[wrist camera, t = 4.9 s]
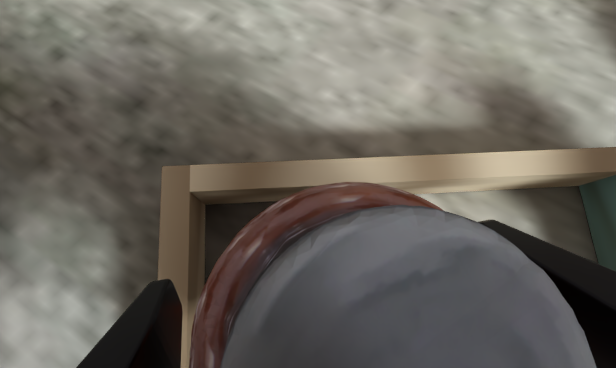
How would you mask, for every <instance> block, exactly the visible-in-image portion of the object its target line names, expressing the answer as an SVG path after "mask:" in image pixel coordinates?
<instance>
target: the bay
mask: <svg viewBox="0 0 616 368" xmlns="http://www.w3.org/2000/svg"><path fill="white" fill-rule="evenodd" d="M341 182H367V183H373V184H380V185H385V186H390V187H394V188H397V189H400V190H403V191H406V192H409V193H411V194H427V193H447V192H467V191H487V190H506V189H526V188H546V187H566V186H579V188H580V192H581V196H582V200H583V204H584V208H585V212H586V216H587V220H588V224H589V227H590V231H591V235H592V239H593V243H594V247H595V251H596V255H597V259H598V263H599V264H600V265H602V266H604V267H607V268H609V269H612V270H614V271H616V147H606V148H582V149H559V150H535V151H511V152H488V153H464V154H441V155H417V156H393V157H370V158H346V159H323V160H299V161H275V162H252V163H228V164H204V165H181V166H162V181H161V207H160V234H159V260H158V280H162V279H170V280H171V281H172V282H173V284H174V286H175V289H176V291H177V294H178V296H179V299H180V301H181V304H182V311H183V316H182V344H181V368H189V361H190V347H191V333H192V326H193V321H194V316H195V312H196V308H197V303H198V301H199V299H200V296H201V293H202V290H203V288H204V286H205V205H210V204H229V203H249V202H269V201H279V200H280V199H283V198H286V197H288V196H290V195H292V194H294V193H297V192H300V191H302V190H305V189H308V188H311V187H315V186H319V185H326V184H333V183H341Z"/></svg>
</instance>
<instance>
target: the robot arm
mask: <svg viewBox="0 0 616 368" xmlns="http://www.w3.org/2000/svg"><path fill="white" fill-rule="evenodd" d="M478 223H480V224H482V225H484V226H486V227H488V228H490V229H492V230H494V231H495V232H497V233H498V234H500V235H501V236H503V237H504V238H506V239H507V240H508V241H510V242H511V243H512V244H514V245H515V246H516V247H517V248H519V249H520V250H521V251H522V252H523V253H524V254H525V255H526V256H527V257H528V258H529V259H530V260H531V261H533V262H534V263H535V264H536V265H538V266H539V267H540V268H541V269H543V270H544V271H545V273H546V274H547V275H548V276H549V277H550V279H551V280H552V281H553V282H554V284H555V285H556V287H557V288H558V290H559V291H560V293H561V295H562V296H563V297H564V299H565V300H566V301H567V303H568V304H569V305H570V307H571V308H572V309H573V312H574V314H575V316H576V318H577V321H578V323H579V324H580V326H581V327H582V329H583V330H584V333H585V336H586V339H587V341H588V344H589V347H590V350H591V353H592V356H593V359H594V361H595V364H596V367H597V368H616V271H614V270H612V269H609V268H607V267H604V266H602V265H600V264H597V263H595V262H593V261H590V260H588V259H585V258H583V257H581V256H578V255H576V254H574V253H571V252H569V251H567V250H564V249H562V248H559V247H557V246H555V245H552V244H550V243H548V242H545V241H543V240H541V239H538V238H536V237H533V236H531V235H529V234H526V233H524V232H522V231H519V230H517V229H515V228H512V227H510V226H507V225H505V224H503V223H500V222H498V221H496V220H486V221H480V222H478ZM182 316H183V311H182V304H181V301H180V299H179V296H178V294H177V291H176V289H175V286H174V284H173V282H172V281H171V280H170V279H162V280H157V281H153V282H151V283H149V284H148V285H147V287H146V288H145V289H144V290H143V291H142V292H141V293H140V295H139V296H138V297H137V298H136V299H135V300H134V302H133V303H132V304H131V305H130V306H129V307H128V308H127V310H126V311H125V312H124V313H123V314H122V315H121V317H120V318H119V319H118V320H117V321H116V322H115V324H114V325H113V326H112V327H111V328H110V329H109V330H108V332H107V333H106V334H105V335H104V336H103V337H102V339H101V340H100V341H99V342H98V343H97V344H96V345H95V347H94V348H93V349H92V350H91V351H90V352H89V354H88V355H87V356H86V357H85V358H84V359H83V361H82V362H81V363H80V364H79V365H78V366H77V367H76V368H181V344H182Z"/></svg>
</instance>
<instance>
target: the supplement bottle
mask: <svg viewBox="0 0 616 368" xmlns="http://www.w3.org/2000/svg"><path fill="white" fill-rule="evenodd" d="M189 368H597V367H596V364H595V361H594V359H593V356H592V353H591V350H590V347H589V344H588V341H587V339H586V336H585V333H584V330H583V329H582V327H581V326H580V324H579V323H578V321H577V318H576V316H575V314H574V312H573V309H572V308H571V307H570V305H569V304H568V303H567V301H566V300H565V299H564V297H563V296H562V295H561V293H560V291H559V290H558V288H557V287H556V285H555V284H554V282H553V281H552V280H551V279H550V277H549V276H548V275H547V274H546V273H545V271H544V270H543V269H541V268H540V267H539V266H538V265H536V264H535V263H534V262H533V261H531V260H530V259H529V258H528V257H527V256H526V255H525V254H524V253H523V252H522V251H521V250H520V249H519V248H517V247H516V246H515V245H514V244H512V243H511V242H510V241H508V240H507V239H506V238H504V237H503V236H501V235H500V234H498V233H497V232H495V231H494V230H492V229H490V228H488V227H486V226H484V225H482V224H480V223H478V222H476V221H473V220H470V219H468V218H465V217H462V216H459V215H456V214H452V213H449V212H445V211H443V210H442V209H441V208H439V207H438V206H436V205H434V204H432V203H430V202H428V201H427V200H425V199H423V198H421V197H418V196H416V195H414V194H411V193H409V192H406V191H403V190H400V189H397V188H394V187H390V186H385V185H380V184H373V183H367V182H341V183H333V184H326V185H319V186H315V187H311V188H308V189H305V190H302V191H300V192H297V193H294V194H292V195H290V196H288V197H286V198H283V199H280V200H279V201H278V202H276V203H274V204H273V205H271V206H269V207H268V208H267V209H265V210H264V211H262V212H260V213H259V214H258V215H257V216H256V217H255V218H253V219H252V220H251V221H249V222H248V223H247V224H246V225H245V226H244V227H243V228H242V229H241V230H240V231H239V232H238V233H237V235H236V236H235V237H234V238H233V239H232V240H231V242H230V243H229V245H228V246H227V248H226V249H225V251H224V252H223V253H222V255H221V256H220V257H219V259H218V260H217V262H216V263H215V265H214V267H213V269H212V271H211V273H210V275H209V277H208V279H207V282H206V284H205V286H204V288H203V290H202V293H201V296H200V299H199V301H198V303H197V308H196V312H195V316H194V321H193V326H192V333H191V347H190V361H189Z"/></svg>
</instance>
